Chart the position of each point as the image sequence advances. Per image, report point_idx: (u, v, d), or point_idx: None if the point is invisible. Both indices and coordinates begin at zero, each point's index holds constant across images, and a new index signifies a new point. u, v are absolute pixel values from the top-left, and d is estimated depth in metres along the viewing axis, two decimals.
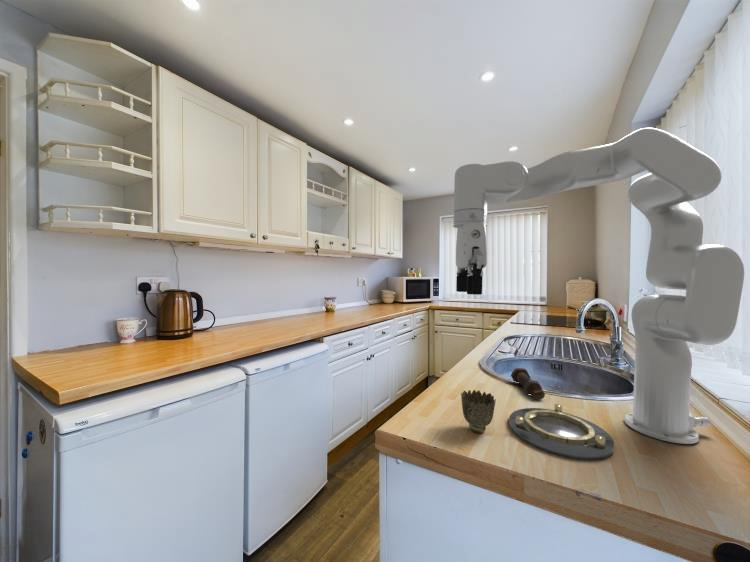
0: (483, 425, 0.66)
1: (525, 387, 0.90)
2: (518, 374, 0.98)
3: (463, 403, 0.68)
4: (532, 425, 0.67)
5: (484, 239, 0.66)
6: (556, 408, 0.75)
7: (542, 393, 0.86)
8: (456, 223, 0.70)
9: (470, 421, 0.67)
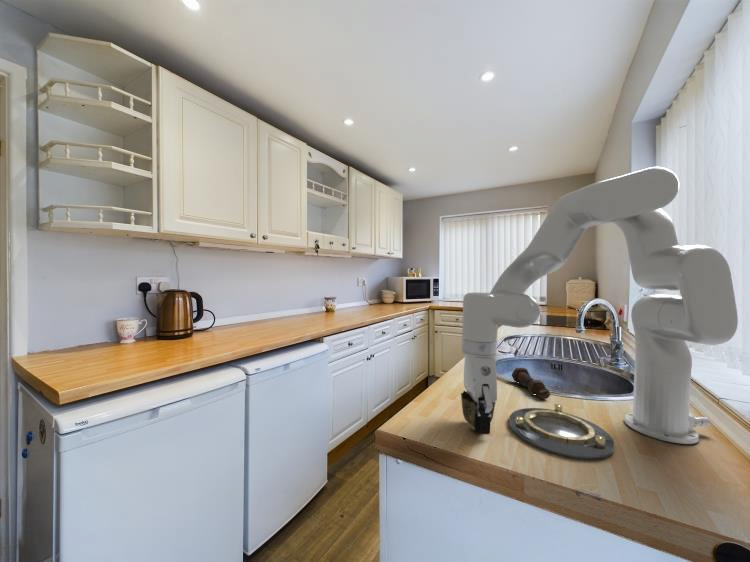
0: None
1: (529, 387, 0.90)
2: (519, 374, 0.98)
3: (463, 403, 0.68)
4: (532, 425, 0.67)
5: (494, 376, 0.64)
6: (556, 408, 0.75)
7: (547, 392, 0.86)
8: (465, 352, 0.67)
9: (470, 421, 0.67)
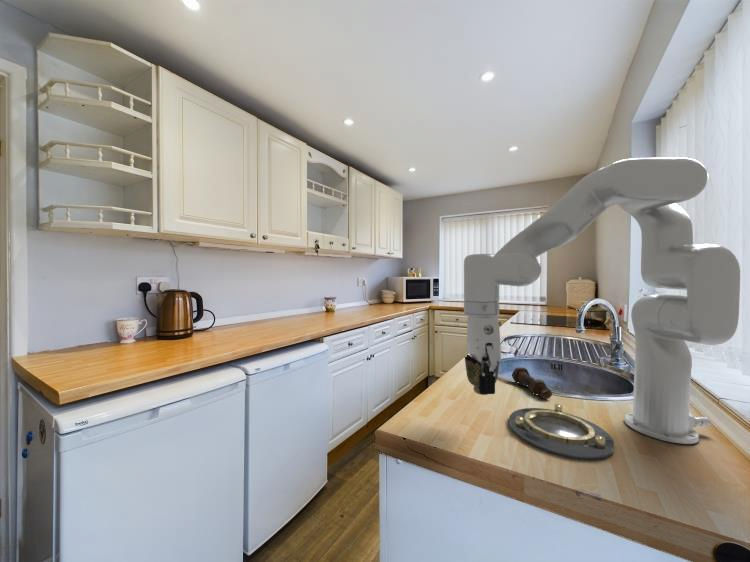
0: None
1: (531, 387, 0.90)
2: (519, 374, 0.99)
3: (467, 366, 0.68)
4: (532, 425, 0.67)
5: (497, 335, 0.64)
6: (556, 408, 0.75)
7: (549, 392, 0.86)
8: (467, 314, 0.67)
9: (475, 383, 0.67)
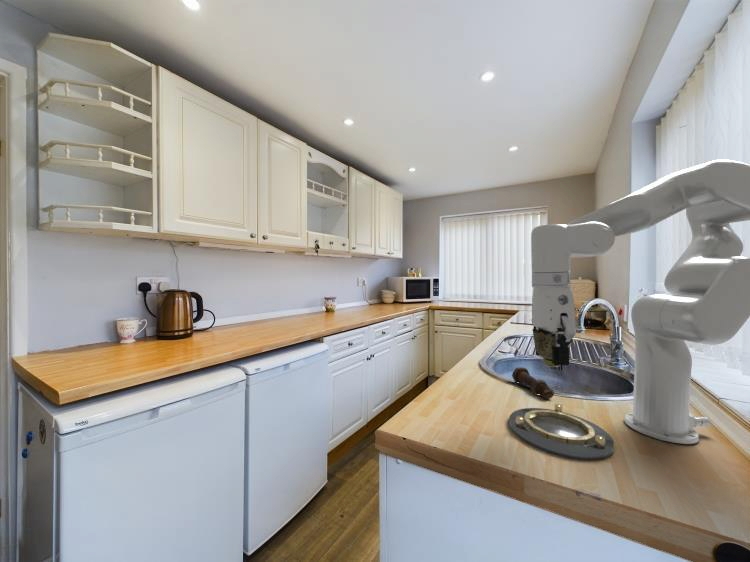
0: None
1: (533, 387, 0.90)
2: (520, 374, 0.99)
3: (537, 337, 0.67)
4: (532, 425, 0.67)
5: (572, 305, 0.63)
6: (556, 408, 0.75)
7: (551, 392, 0.87)
8: (537, 285, 0.66)
9: (546, 354, 0.66)
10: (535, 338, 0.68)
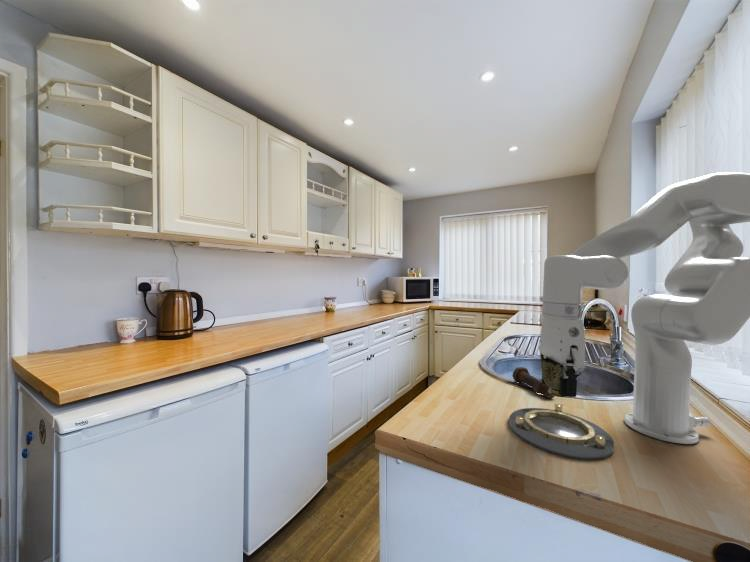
0: None
1: (535, 387, 0.90)
2: (520, 373, 0.99)
3: (545, 367, 0.67)
4: (532, 425, 0.67)
5: (583, 337, 0.63)
6: (556, 408, 0.75)
7: None
8: (548, 315, 0.66)
9: (554, 384, 0.66)
10: (543, 367, 0.68)
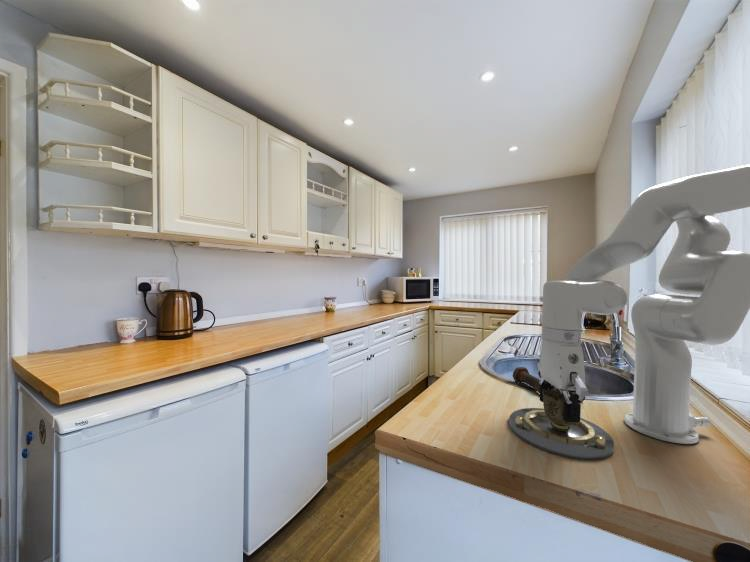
0: (570, 423, 0.65)
1: (537, 386, 0.91)
2: (521, 373, 0.99)
3: (547, 401, 0.67)
4: (532, 425, 0.67)
5: (582, 364, 0.63)
6: None
7: None
8: (548, 341, 0.67)
9: (556, 419, 0.66)
10: (545, 401, 0.68)
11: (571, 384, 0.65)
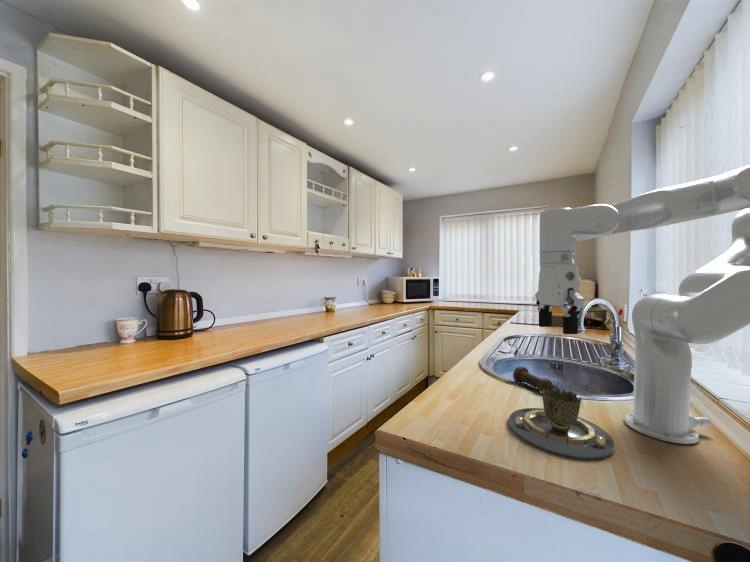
0: (570, 424, 0.65)
1: (539, 386, 0.91)
2: (521, 373, 0.99)
3: (547, 401, 0.67)
4: (532, 425, 0.67)
5: (578, 281, 0.69)
6: None
7: (559, 390, 0.88)
8: (546, 264, 0.72)
9: (556, 420, 0.66)
10: (545, 401, 0.68)
11: (568, 301, 0.71)
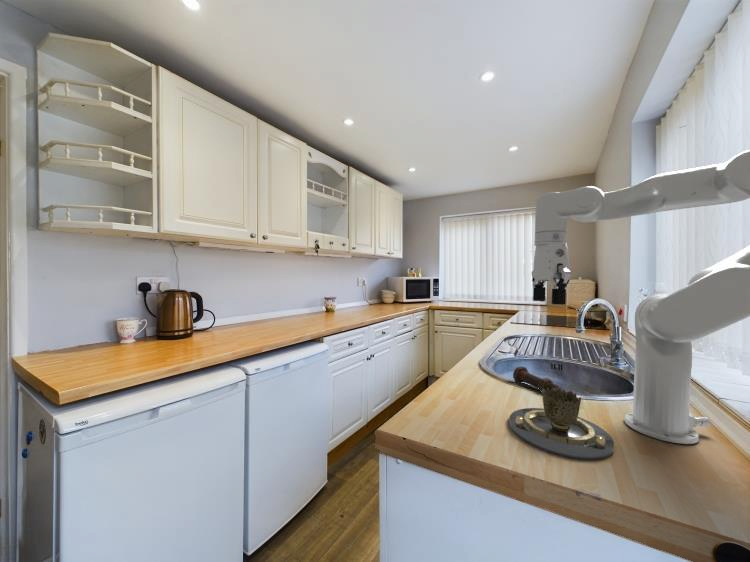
0: (570, 424, 0.65)
1: (540, 386, 0.91)
2: (521, 373, 0.99)
3: (547, 401, 0.67)
4: (532, 425, 0.67)
5: (567, 257, 0.77)
6: None
7: (560, 390, 0.88)
8: (539, 242, 0.81)
9: (556, 420, 0.66)
10: (545, 401, 0.68)
11: (558, 276, 0.79)
